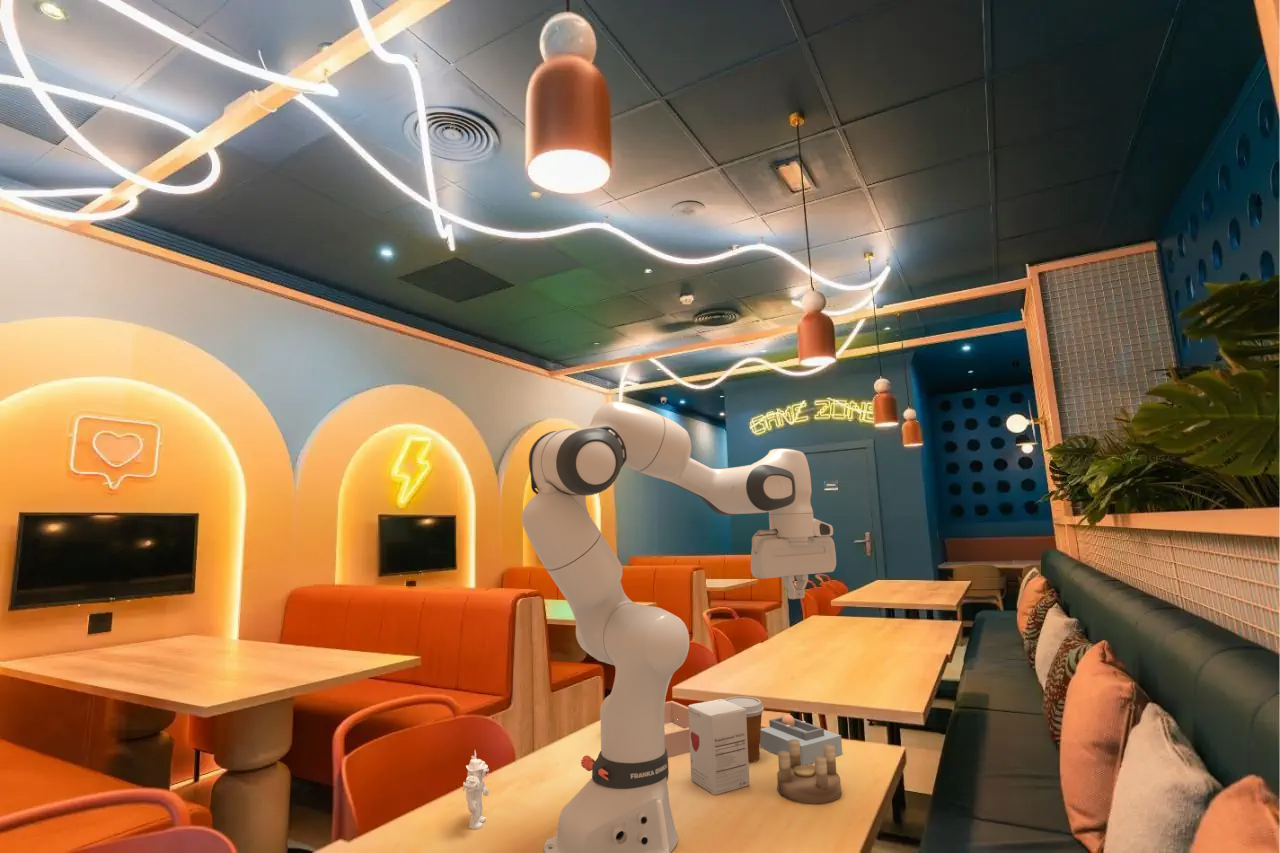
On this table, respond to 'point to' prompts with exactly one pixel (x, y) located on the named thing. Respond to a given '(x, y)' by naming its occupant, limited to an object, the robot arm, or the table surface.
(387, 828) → the table surface
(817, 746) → the stand
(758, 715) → the disposable coffee cup
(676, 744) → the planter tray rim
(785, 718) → the indicator ball
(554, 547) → the robot arm
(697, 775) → the supplement box
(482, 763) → the flower shoulder figurine
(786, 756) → the dial
